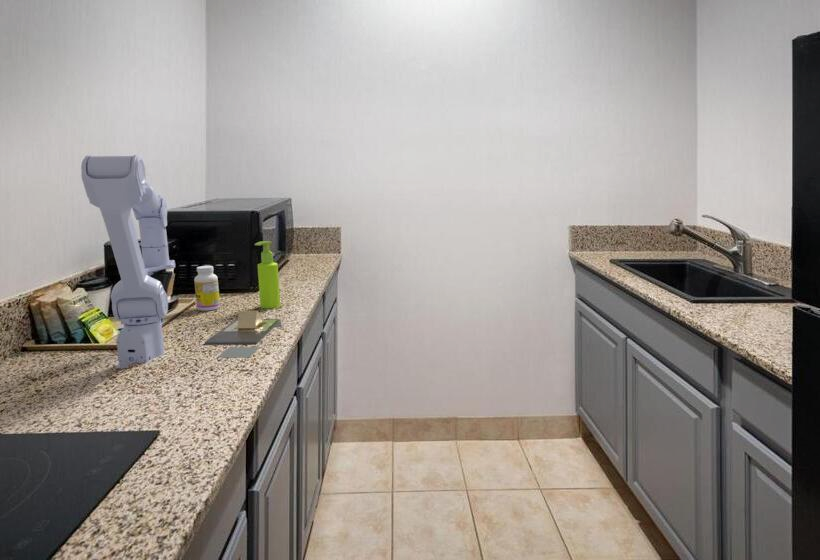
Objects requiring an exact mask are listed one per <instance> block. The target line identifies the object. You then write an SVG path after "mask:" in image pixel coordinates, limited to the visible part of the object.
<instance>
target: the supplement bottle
mask: <svg viewBox="0 0 820 560" xmlns="http://www.w3.org/2000/svg"><path fill="white" fill-rule="evenodd" d="M196 272H197V275H196V276H195V277H194V279H193V281H194V282H193V283H194V289H195V290H194V292H195V302H196V309H197V310H198V311H201V312H210V311H214V310H218V309H219V308H220V306H221V302H220V289H219V280H218V276H217V275H216V274H215V273H214V266H213V265H201V266H197V267H196Z"/></svg>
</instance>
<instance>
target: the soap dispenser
mask: <svg viewBox="0 0 820 560" xmlns="http://www.w3.org/2000/svg"><path fill="white" fill-rule="evenodd" d="M270 244H273V242H272V241H271V240H270V241H268V240H265V241H263V240H262V241H258V242H256V243H254V246H259V247H260V246H262V245H263V251H261V253H260V258H261V259H260V260H261V262H260V263H258V264H257V275H258V276H257V277H258V291H259V304H260V308H261V309H277V308H279V307H281V298H280V281H279V267H278V266H279V265H278V263H277V262H274V258H273V257H274V254H273V251H271V250H270Z"/></svg>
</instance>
